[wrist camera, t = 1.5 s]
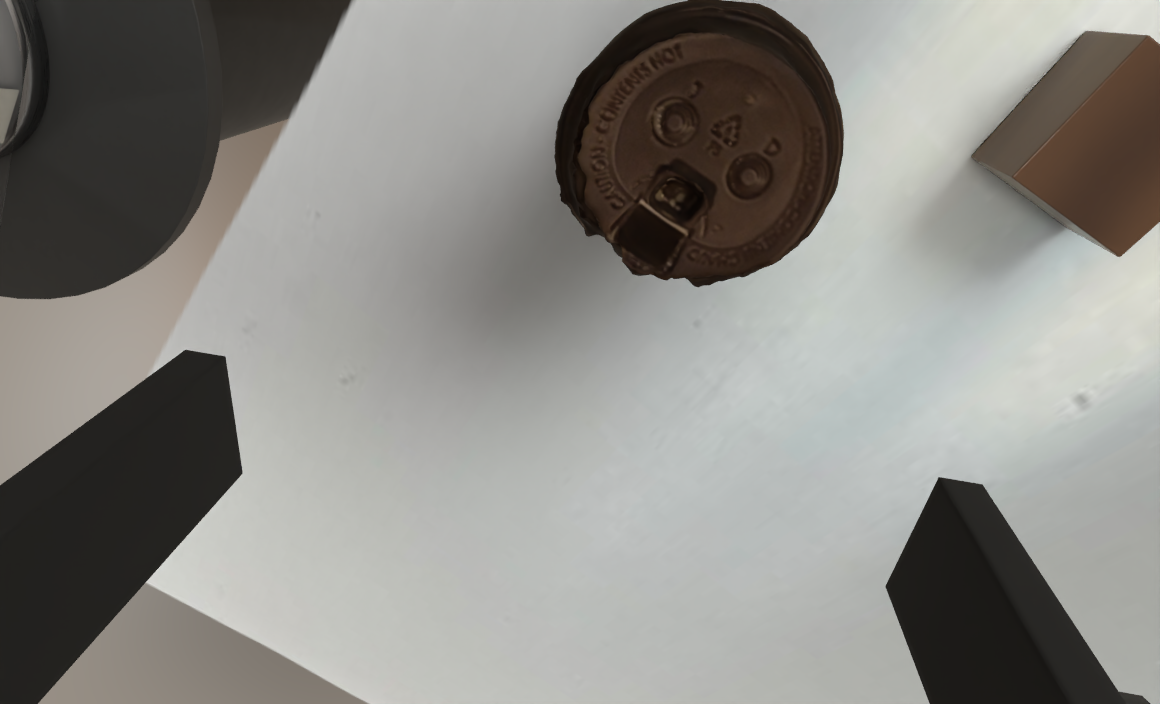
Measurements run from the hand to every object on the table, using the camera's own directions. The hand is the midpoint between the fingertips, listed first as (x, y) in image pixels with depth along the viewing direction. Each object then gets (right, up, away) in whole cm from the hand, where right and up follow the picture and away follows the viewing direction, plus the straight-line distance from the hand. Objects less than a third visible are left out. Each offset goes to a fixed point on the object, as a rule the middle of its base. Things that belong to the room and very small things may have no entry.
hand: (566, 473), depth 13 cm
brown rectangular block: (+22, +12, +16) cm, 30 cm away
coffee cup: (+5, +14, +18) cm, 23 cm away
